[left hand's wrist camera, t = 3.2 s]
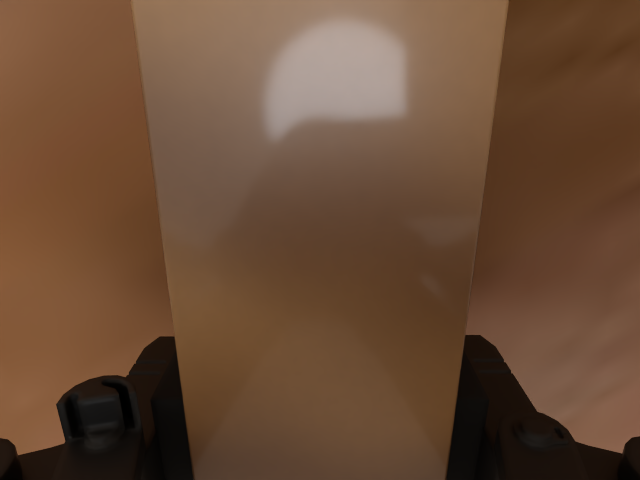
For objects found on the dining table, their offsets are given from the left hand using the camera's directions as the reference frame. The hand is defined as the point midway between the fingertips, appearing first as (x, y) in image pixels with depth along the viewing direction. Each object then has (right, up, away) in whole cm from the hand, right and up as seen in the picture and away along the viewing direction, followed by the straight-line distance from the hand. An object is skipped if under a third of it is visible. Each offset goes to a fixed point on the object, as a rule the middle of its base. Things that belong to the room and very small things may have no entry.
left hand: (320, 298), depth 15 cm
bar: (0, +33, -12) cm, 35 cm away
